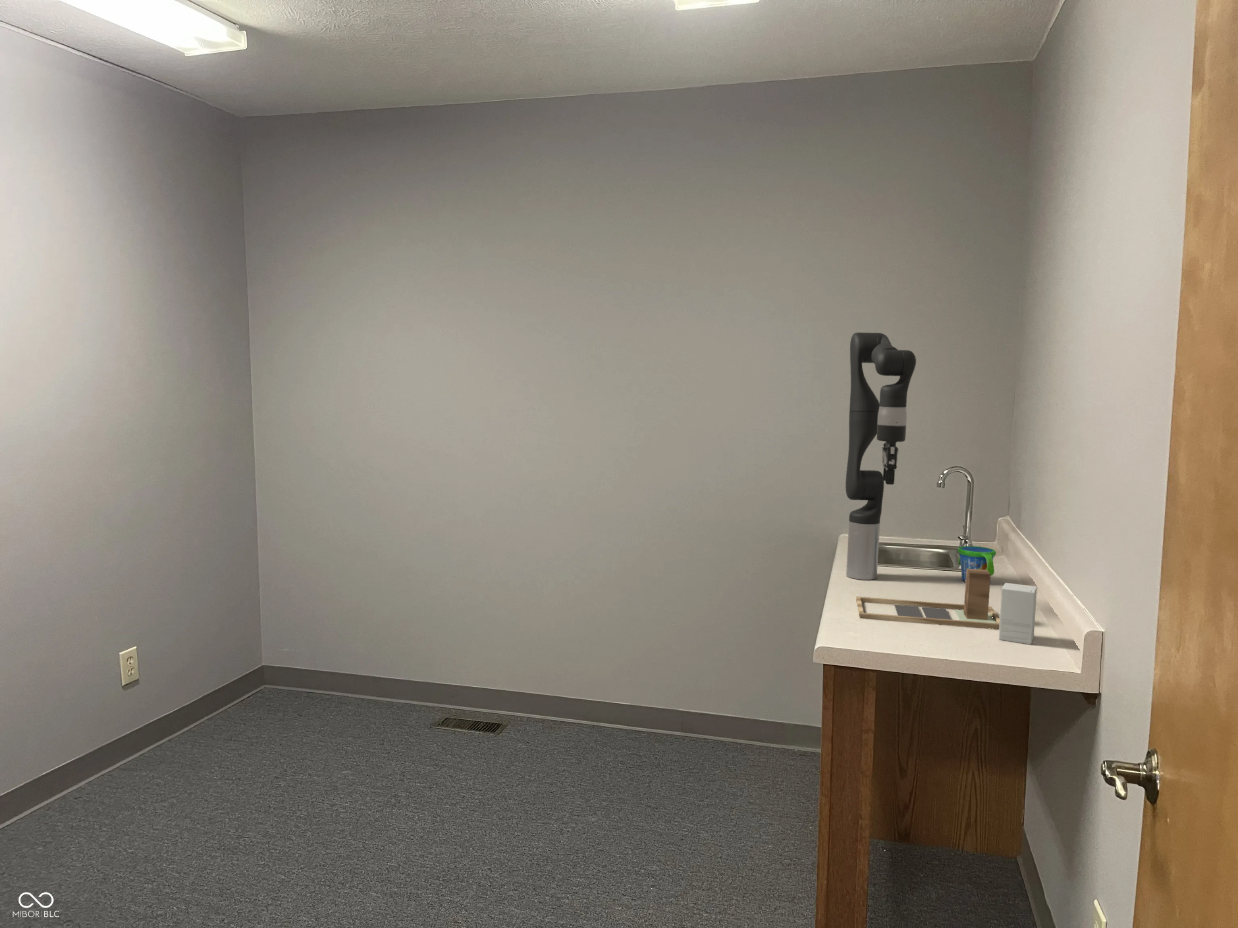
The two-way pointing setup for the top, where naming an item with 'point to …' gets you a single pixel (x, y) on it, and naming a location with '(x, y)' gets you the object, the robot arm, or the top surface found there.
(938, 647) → the top surface
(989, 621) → the pad
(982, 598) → the walnut block
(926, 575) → the top surface
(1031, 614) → the supplement box
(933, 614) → the trap squares
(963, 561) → the snack cup
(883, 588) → the top surface
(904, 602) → the tray
